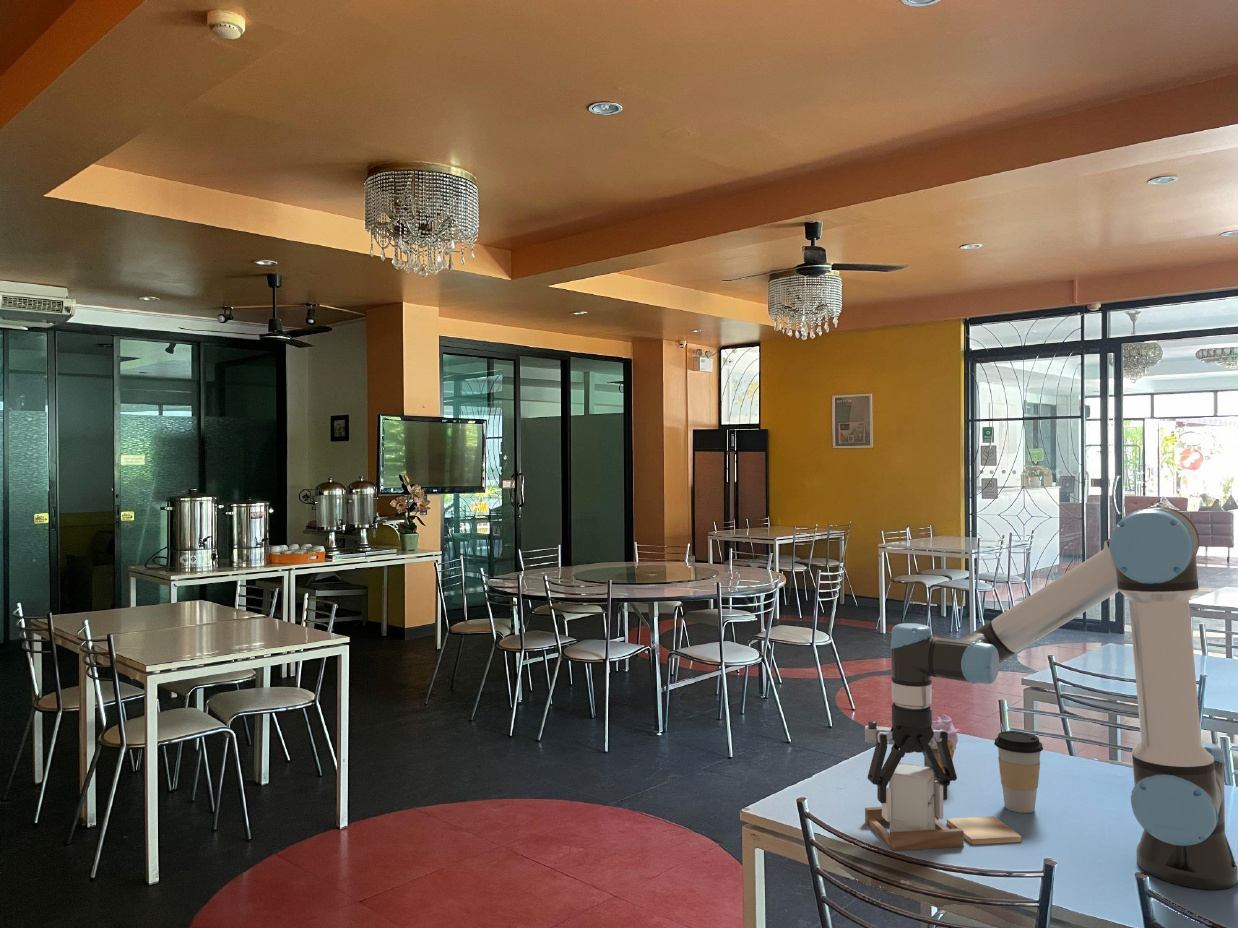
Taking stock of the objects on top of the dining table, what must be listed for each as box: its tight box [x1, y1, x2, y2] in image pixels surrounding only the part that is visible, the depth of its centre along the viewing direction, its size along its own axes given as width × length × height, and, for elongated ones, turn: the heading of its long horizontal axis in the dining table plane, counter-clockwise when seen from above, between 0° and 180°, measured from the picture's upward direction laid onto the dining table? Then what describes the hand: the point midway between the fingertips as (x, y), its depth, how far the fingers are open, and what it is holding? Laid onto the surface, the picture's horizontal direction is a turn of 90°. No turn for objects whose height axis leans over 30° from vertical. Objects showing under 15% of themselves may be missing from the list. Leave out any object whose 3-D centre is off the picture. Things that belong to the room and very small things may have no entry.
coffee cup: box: [993, 730, 1044, 814], centre depth 187 cm, size 9×9×15 cm
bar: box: [864, 720, 938, 749], centre depth 184 cm, size 14×3×4 cm, turn 72°
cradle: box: [864, 749, 965, 852], centre depth 175 cm, size 15×16×14 cm
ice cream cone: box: [931, 713, 961, 773], centre depth 203 cm, size 7×6×15 cm
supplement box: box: [888, 762, 936, 833], centre depth 174 cm, size 7×7×13 cm
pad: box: [946, 815, 1022, 845], centre depth 174 cm, size 10×10×1 cm
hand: (912, 817), depth 174 cm, fingers closed on supplement box, 10 cm apart
